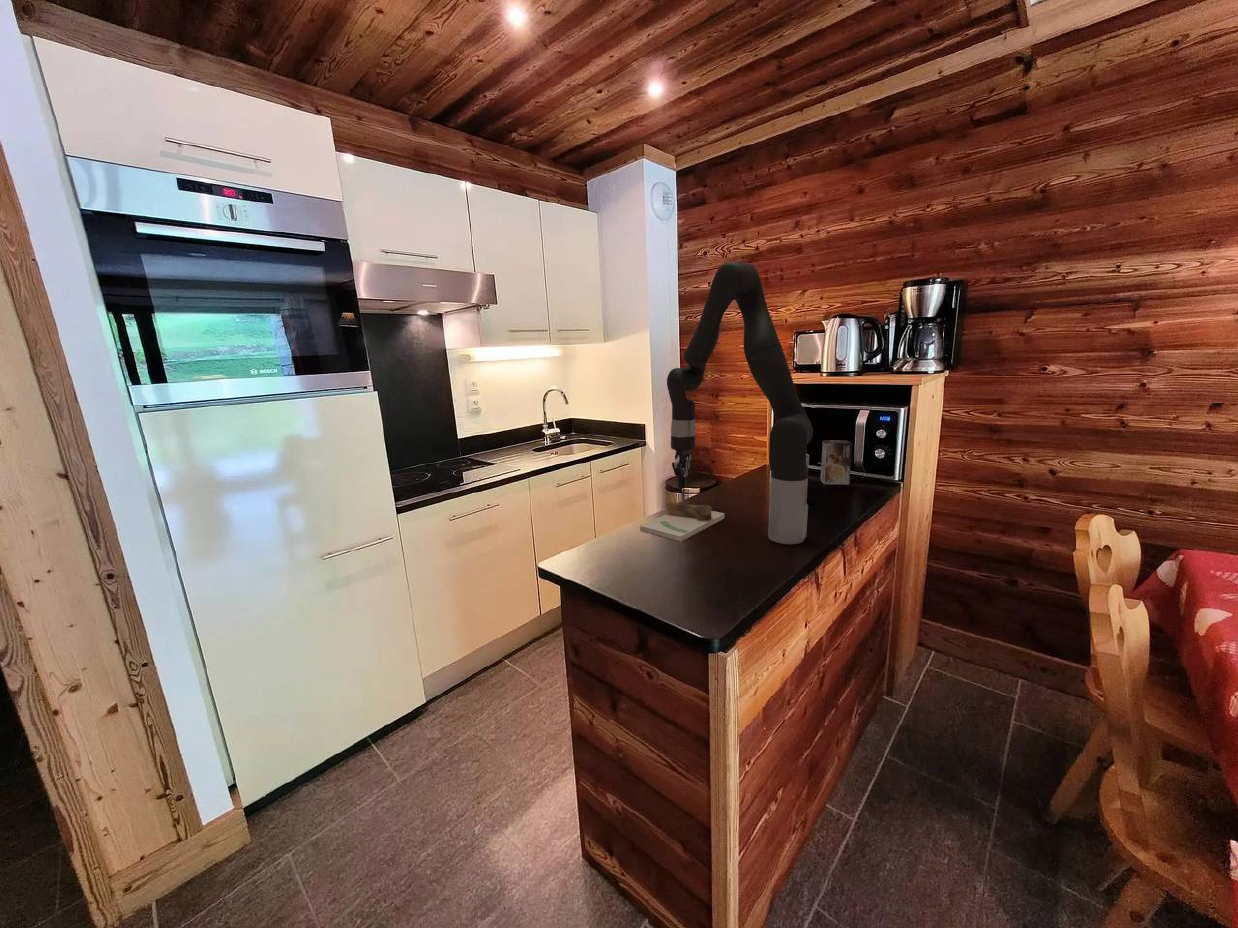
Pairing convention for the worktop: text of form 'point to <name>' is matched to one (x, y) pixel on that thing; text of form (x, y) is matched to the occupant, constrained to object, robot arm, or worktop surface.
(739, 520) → the worktop surface
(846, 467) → the coffee box
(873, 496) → the worktop surface
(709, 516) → the brown wooden block
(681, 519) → the dial board
